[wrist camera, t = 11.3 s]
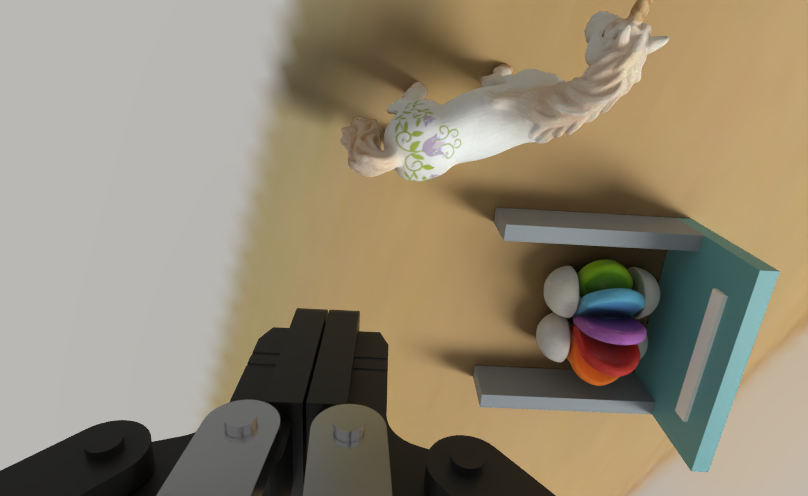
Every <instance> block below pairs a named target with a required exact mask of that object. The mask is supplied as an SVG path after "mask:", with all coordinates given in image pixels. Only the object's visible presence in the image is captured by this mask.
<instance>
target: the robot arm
mask: <svg viewBox="0 0 808 496" xmlns="http://www.w3.org/2000/svg"><path fill="white" fill-rule="evenodd" d="M359 323H360V311H345V310H329V314H328V310H323V309H303V308H297V310H296V312H295V315H294V317H293V320H292V323H291V325H290V328H274V327H273V328H272V329H271V330H269V331H268V332H267V333H266V334H264V335H263V336H262V337H260V338H259V340H258V342H257V344H256V346H255V348H254V351H253V355H251V357H250V359H249V361H248V365H247V366H246V368H245V370H244V372H243V374H242V376H241V379H240V381H239V383H238V385H237V387H236V389H235V392H234V394H233V396H232V398H231V400H230V402H229V403H226V404H224V405H222V406H220V407H218V408H216V409H215V410H213V411H212V412H210V413H209V414H208V415H207V416H206V418H205V419H204V420H203V422H202V423H201V425H200V427H199V428H198V430H197V431H196V432H195V433H192V434H189V435H185V436H181V437H176V438H171V439H166V440H159V441H155V442H151V434H150V432H149V430H148V429H147V428H146V427H145V426H144V425H142V424H140V423H137V422H134V421H127V420H126V421H125V420H118V421H110V422H106V423H101V424H98V425H95V426H92V427H90V428H88V429H85V430H83V431H81V432H80V433H77V434H75V435H73V436H71V437H69V438H67V439H65V440H63V441H61V442H59V443H57V444H55V445H53V446H51V447H49V448H46V449H45V450H42V451H40V452H38V453H36V454H35V455H32V456H30V457H28V458H26V459H24V460H22V461H20V462H18V463H16V464H14V465H12V466H9V467H7V468H5V469H3V470H1V471H0V496H555V495H554V494H553V493H552V492H550V491H549V490H548V489H547V488H545V487H544V486H543V485H542V484H540V483H539V482H538V481H537V480H535V479H534V478H533V477H531V476H530V475H529V474H528V473H526V472H525V471H524V470H523V469H521V468H520V467H519V466H518V465H516V464H515V463H514V462H513V461H511V460H510V459H509V458H507V457H506V456H505V455H504V454H502V453H501V452H500V451H499V450H497V449H496V448H495V447H493V446H492V445H491V444H489V443H487V442H485V441H483V440H481V439H478V438H475V437H471V436H464V435H456V436H449V437H446V438H443V439H441V440H439V441H437V442H436V443H435V444H434V445H433V446H432V447H431V448H430V450H429V449H426V448H422V447H419V446H416V445H413V444H410V443H408V442H406V441H404V440H403V439H401V438H400V437H399V436H397V435H396V434H395V433H394V432H393V430H392V429H391V428H390V426H389V424H388V421H387V416H386V409H387V370H388V344H387V342H386V341H385V339H384V338H383V336H382V335H381V333H380V332H359Z"/></svg>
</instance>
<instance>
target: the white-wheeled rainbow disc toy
mask: <svg viewBox="0 0 808 496" xmlns="http://www.w3.org/2000/svg"><path fill="white" fill-rule="evenodd" d="M544 298H545V301H546V304H547V305H548V307H549V308H550V309H551V310H552V311H553V313H550V314H548V315H546V316H545V317H544V318H543V319H542V320H541V321H540V323H539V324H538V327H537V331H536V340H537V345H538V347H539V349H540V351H541V352H542V353H543V354H544V355H545V356H546V357H547V358H549V359H551V360H553V361H555V362H563V361H564V360H565V359H567V360H568V361H569V362H570V364H571V366H572V368H573V370H574V371H575V373H576V374H577V375H578V376H579V377H580V378H581V379H583V380H584V381H585V382H587V383H590V384H592V385H597V386H601V385H606V384H609V383H612V382H613V381H615V380H617V379H618V378H619V377H620V376H624V375H627V374H629V373H631V372H632V371H633V370H634V369H635V368H636V367H637V365H638V363H639V361H640V359H641V358H642V357H643V356H644V354H645V353H646V350H647V347H648V337H647V331H646V328H645V327H644V326H643V325H642V324H641V323H640V322H638V321H637V320H635V319H640V318H643V317H646V316H647V315H649V314H651V313H652V312H653V311H654V310H655V309H656V307H657V305H658V303H659V300H660V288H659V285H658V283H657V281H656V279H655V278H654V277H653V276H652V275H651V274H650V273H649V272H647V271H646V270H644V269H641V268H637V267H630V268H629V269H626V268H625V267H624V266H623V265H621V264H620V263H618V262H616V261H614V260H610V259H603V260H597V261H594V262H591V263H589V264H587V265H586V266H585V267H583V268H582V269H581V270H580V271H579V272H578V273H576V271H575V269H574V268H573V267H572V266H563V267H560V268H557V269H555V270H554V271H553V272H551V273H550V275H549V276H548V277H547V279H546V281H545V284H544ZM572 316H573V318H570V317H572ZM567 318H570V319H567Z"/></svg>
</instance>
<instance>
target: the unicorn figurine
mask: <svg viewBox="0 0 808 496" xmlns="http://www.w3.org/2000/svg"><path fill="white" fill-rule="evenodd" d="M653 1H654V0H637V2H636V3H635V4H634V6H633V8H632V9H631V12H630V15H629V16H628V18H627V19H622V18H620V17H619V16H617V15H615V14H612V13H609V12H605V11H600V12H598V13H596V14H594V15H593V16H592V17H591V18H590V20H589V22H588V23H587V26H586V29H585V31H584V32H585V37H586V42H587V43H588V46H587V49H586V54H585V60H586V62H587V64H588V65H589V67H588V68H587V69H586V71H585V72H584V75H583V76H581V77H579V78H574V79H573V80H571V81H568V82H566V81H564V80H562V79H561V78H560V77H559V76H558V75H556V74H552V73H547V72H542V71H540V70H536V69H525V70H522V71H520V72H518V73H517V74H516V75H515V76H514V75H512V71H513V69H512V67H511V66H509V65H507V64H500V65H498V66H497V67H495V69H494V70H493V74H492V75H489V76H483V77H482V78H481V81H480V83H481V85H482V88H477V89H474V90H471V91H469V92H466V93H464V94H461V95H459V96H457V97H456V98H454V99H452V100H451V101H449V102H447V103H445V104H443V105H440V104H438V103H436V102H434V101H433V100H428V99H424V98H425V96H426V95H427V92H428V88H427V87H426V86H425V85H423V84H422V83H420V82H413V83H412V84H411V86H410V87H409V89H408V90H407V91H406V92H405V93H404V94H403V98H401V99H398V100H396V101H395V102H394V103H393V104H391V105H389V106H388V107H387V112H388V113H389V114H395V116H394V118H393V119H392V120H391V122H390V123H389V124H388V126H387V128H386V130H385V134H384V151H382V150H381V147H380V141H381V139H380V137H379V136H380V134H382V128H381V127H378V123H377V121H376V120H375V119H366V118H363V117H356V118H354V121H353V122H352V123H351V126H349V127H344V128H342V129H341V131H342V133H343V137H342V138H341V139H340V141H341V144H342V146H344V147H345V148H346V149H347V150H348V155H349V156H348V165H349V167H350V168H351V169H352V170H353V171H356V172H357V173H359V174H360V175H363V176H365V177H374V176H378V175H381V174H383V173H384V172H388V171H390V170H392V169H394V168H395V170H396V172H397V173H398V174H399V175H400V176H401V177H402V178H404V179H406V180H410V181H423V180H427V179H431V178H434V177H438V176H440V175H441V174H443V173H445V172H446V171H447V170H448V169H450V168H451V167H452V166H454V165H456V164H459V163H463V162H469V161H475V160H480V159H484V158H487V157H490V156H493V155H496V154H499V153H501V152H503V151H505V150H508V149H510V148H513V147H515V146H518V145H520V144H523V143H529V142H537V143H546V142H548V141H550V140H551V139H552V138H558V137H560V136H561V135H562V134H563V133H566V134H567V135H571V134H572V133H574V132H575V131H576V130H577V129H578V128H579V127H581V125H582V124H583V123H590V122H591V121H593V120H594V119H595V118H596V117H597V116H598V114H599V113H604V112H607V111H608V110H609V109H610V108H611V107H612V106H613V104H614V103H615V102H616V101H617V100H618V99H619V98H620V97H621V96H623V95H624V94H626V93H627V92H628V91H629V90H630V88H631V87H632V85H633V84H634V83H638V82H639V81H640V79H641V69H642V66H643V64H644V63H645V60H646V57H647V54H649V53H651V52H653V51H655V50H657V49H659V48H661V47H662V46H663V45H665V44H666V43H667V42H668V40H669V37H667V36H654V37H650V33H651V27H650V25H647V24H644V23H642V21H643V19H644V18H645V16H646V15H647V13H648V12H649V7H650V5H651V3H652V2H653ZM423 99H424V100H423Z"/></svg>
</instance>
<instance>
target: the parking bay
mask: <svg viewBox="0 0 808 496" xmlns="http://www.w3.org/2000/svg"><path fill="white" fill-rule="evenodd" d="M494 224H495V225H496V227H497V229H498V231H499V233H500V235H501V236H502V238H503V240H504V241H518V242H536V243H554V244H572V245H591V246H609V247H627V248H645V249H664V250H667V253H666V257H665V261H664V264H663V268H662V272H661V276H660V279H659V283H658V285H659V288H660V300H659V303H658V305H657V307H656V309H655V310H654V311H653V312H652V313H651V314H650V317H649V321H648V324H647V328H646V331H647V337H648V347H647V350H646V353H645V354H644V356H643V357H642V358H641V359H640V361H639V363H638V365H637V367H636V369H635V373H629V374H627V375H624V376H620V377H619V378H618V379H617V380H615V381H613V382H612V383H609V384H606V385H601V386H597V385H592V384H590V383H587V382H585V381H584V380H583V379H581V378H580V377H579V376H578V375H577V374H576V373H575V371H574V370H564V369H543V368H521V367H499V366H478V365H475V368H474V375H473V378H474V383H475V387H476V391H477V396H478V400H479V404H480V407H492V408H515V409H538V410H561V411H584V412H608V413H631V414H652V415H653V416H654V418H655V419H656V421H657V422H658V423H659V425H660V426H661V428H662V429H663V431H664V432H665V434H666V435H667V437H668V438H669V439H670V441H671V442H672V444H673V445H674V447H675V448H676V450H677V451H678V453H679V454H680V455H681V457H682V458H683V460H684V461H685V463H686V464H687V466H688V467H689V468H690V470H691V471H698V472H708V471H709V468H710V465H711V462H712V459H713V457H714V454H715V451H716V448H717V446H718V443H719V440H720V437H721V434H722V432H723V429H724V426H725V423H726V420H727V418H728V415H729V412H730V409H731V406H732V404H733V401H734V398H735V395H736V393H737V390H738V387H739V384H740V381H741V379H742V376H743V373H744V370H745V367H746V365H747V362H748V359H749V356H750V353H751V351H752V348H753V345H754V342H755V339H756V337H757V334H758V331H759V328H760V325H761V323H762V320H763V317H764V314H765V311H766V309H767V306H768V303H769V300H770V297H771V295H772V292H773V289H774V286H775V283H776V281H777V278H778V275H779V272H780V271H778V270H776V269H775V268H773V267H771V266H770V265H768V264H766V263H765V262H763V261H761V260H760V259H758V258H756V257H755V256H753V255H751V254H750V253H748V252H746V251H745V250H743V249H741V248H740V247H738V246H736V245H735V244H733V243H731V242H730V241H728V240H726V239H724V238H723V237H721V236H719V235H718V234H716V233H714V232H713V231H711V230H709V229H708V228H706V227H704V226H703V225H701V224H699V223H698V222H696V221H694V220H693V219H690V218H672V217H655V216H637V215H620V214H602V213H585V212H567V211H550V210H532V209H515V208H497V207H496V210H495V218H494Z"/></svg>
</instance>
